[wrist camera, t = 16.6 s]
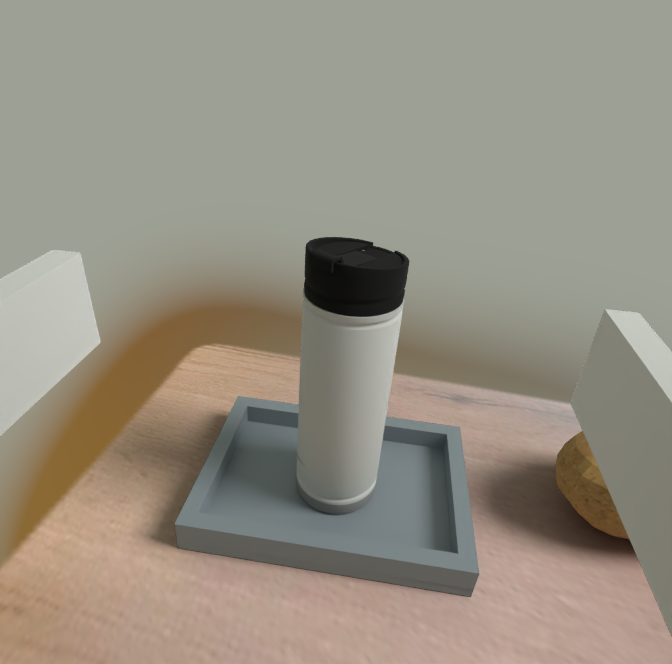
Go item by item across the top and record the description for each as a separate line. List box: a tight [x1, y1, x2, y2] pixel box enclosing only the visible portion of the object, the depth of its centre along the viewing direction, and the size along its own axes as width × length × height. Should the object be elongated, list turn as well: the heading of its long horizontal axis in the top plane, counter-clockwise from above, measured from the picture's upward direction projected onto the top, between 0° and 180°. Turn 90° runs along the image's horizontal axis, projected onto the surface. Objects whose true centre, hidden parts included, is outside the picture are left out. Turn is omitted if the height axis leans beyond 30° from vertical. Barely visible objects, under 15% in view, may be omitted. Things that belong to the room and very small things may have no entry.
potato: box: [555, 431, 629, 539], centre depth 37 cm, size 10×14×8 cm
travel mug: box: [296, 237, 409, 514], centre depth 33 cm, size 6×7×20 cm
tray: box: [174, 396, 479, 597], centre depth 38 cm, size 20×14×2 cm
